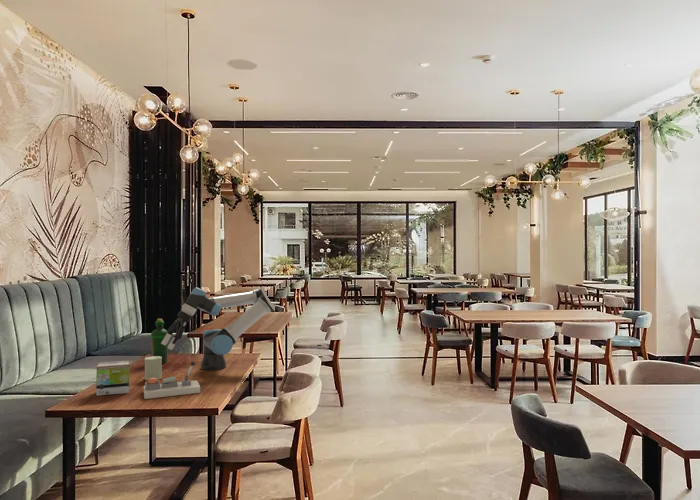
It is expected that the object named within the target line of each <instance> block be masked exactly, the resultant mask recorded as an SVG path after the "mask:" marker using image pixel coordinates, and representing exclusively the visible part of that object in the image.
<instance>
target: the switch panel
mask: <svg viewBox="0 0 700 500" xmlns="http://www.w3.org/2000/svg"><path fill="white" fill-rule="evenodd" d="M200 393H201V386H200V383H199V382H198V380H191V379H189V378H188V380H185V379H181V381H178V380H174V381H170V382H166V383H164V382H163V381H161V382H160V380H158V383H157V384H148V381H144V385H143V397H144V400H146V399H147V400H148V399H157V398H165V397H173V396H182V395H191V394H200Z"/></svg>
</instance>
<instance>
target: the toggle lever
mask: <svg viewBox="0 0 700 500" xmlns="http://www.w3.org/2000/svg"><path fill="white" fill-rule="evenodd" d="M195 365H196V361H194V360H193V361H191V362H190V366H189V369H188V370H187V373H186V375H185V376H184V379H183V380H188V379H189V376H190V374H191V371H192V370H193V367H194V366H195Z"/></svg>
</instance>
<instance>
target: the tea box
mask: <svg viewBox="0 0 700 500" xmlns="http://www.w3.org/2000/svg"><path fill="white" fill-rule="evenodd" d="M95 374H96V375H95V376H96V382H95V383H96V386H95V387H96V389H95V391H96V397H98V396H99V397H100V396H105V395H119V394H129V392H130V360H121V361H110V362H109V361H107V362H98V363H97V366H96V373H95Z"/></svg>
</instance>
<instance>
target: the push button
mask: <svg viewBox="0 0 700 500" xmlns="http://www.w3.org/2000/svg"><path fill="white" fill-rule="evenodd" d="M158 381H159V379H157V378H148V380H147V382H148V384H157V383H158Z"/></svg>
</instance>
